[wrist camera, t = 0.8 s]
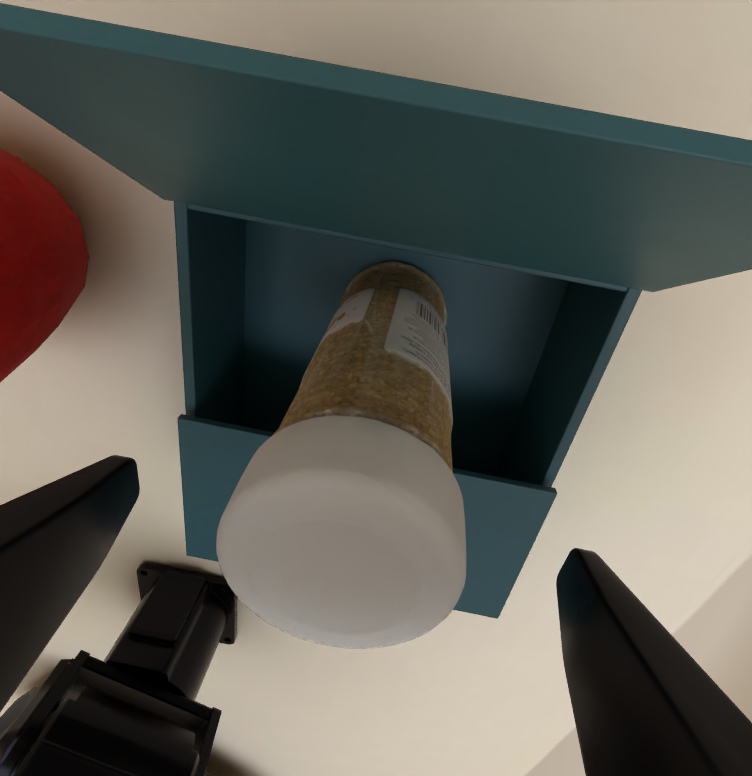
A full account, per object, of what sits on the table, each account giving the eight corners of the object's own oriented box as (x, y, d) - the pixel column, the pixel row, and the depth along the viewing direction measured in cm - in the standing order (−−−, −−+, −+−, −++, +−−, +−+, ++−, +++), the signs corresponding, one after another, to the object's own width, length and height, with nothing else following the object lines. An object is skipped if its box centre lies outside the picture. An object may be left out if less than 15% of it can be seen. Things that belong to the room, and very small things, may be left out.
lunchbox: (240, 175, 18) (160, 195, 13) (591, 241, 18) (656, 289, 13) (237, 467, 25) (185, 556, 20) (485, 517, 25) (498, 620, 20)
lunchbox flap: (162, 199, 13) (164, 188, 13) (652, 292, 13) (655, 281, 13) (-132, 3, 6) (-129, -22, 6) (1004, 212, 5) (1012, 185, 5)
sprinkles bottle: (330, 269, 19) (164, 490, 7) (441, 250, 18) (452, 467, 7) (354, 367, 21) (254, 661, 10) (454, 355, 20) (481, 661, 9)
